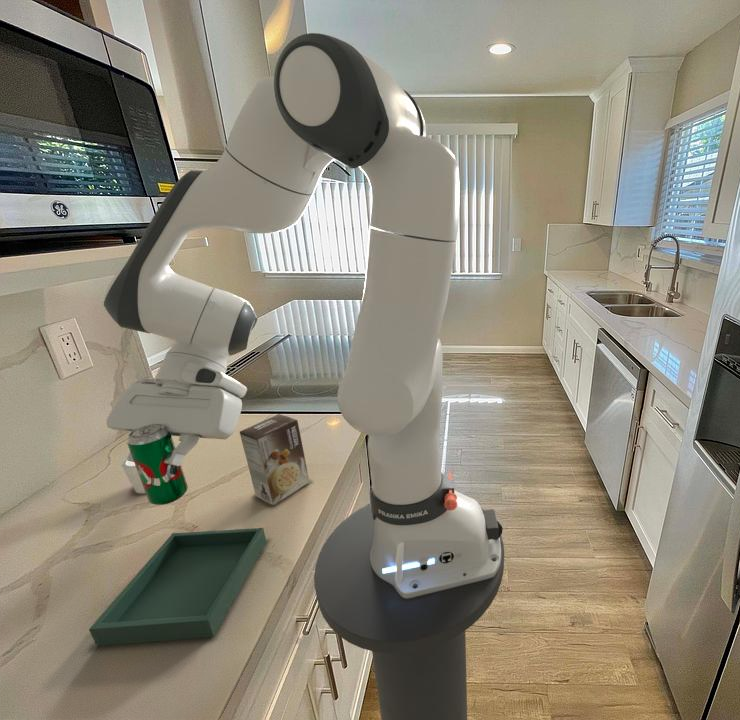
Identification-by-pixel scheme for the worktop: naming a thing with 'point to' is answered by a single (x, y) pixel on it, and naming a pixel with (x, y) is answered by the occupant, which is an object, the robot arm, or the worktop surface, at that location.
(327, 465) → the worktop surface
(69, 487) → the worktop surface
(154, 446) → the soda can
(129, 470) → the white cup
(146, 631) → the tray
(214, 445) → the worktop surface
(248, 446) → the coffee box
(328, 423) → the worktop surface
